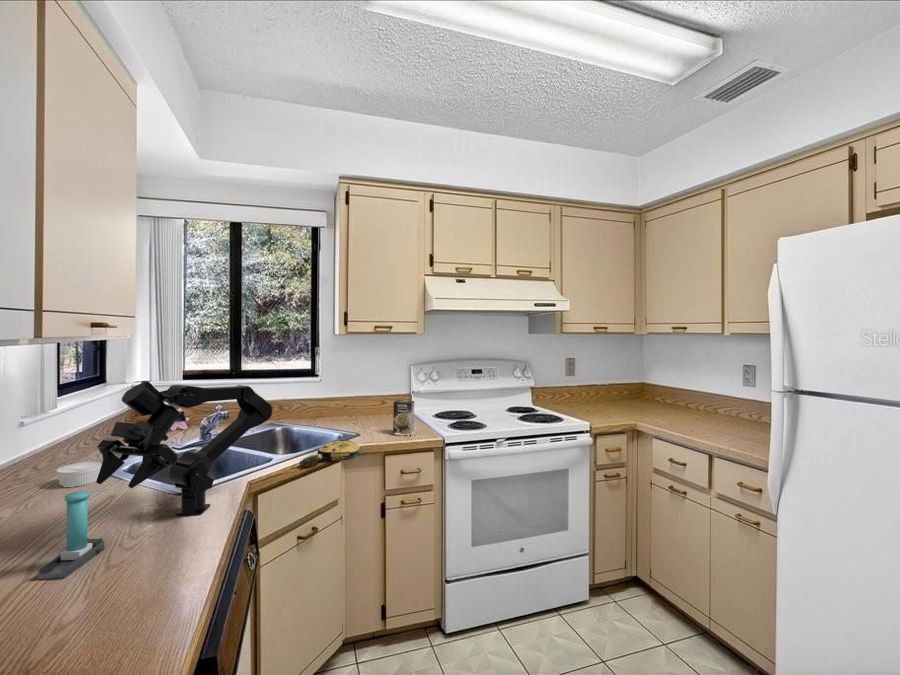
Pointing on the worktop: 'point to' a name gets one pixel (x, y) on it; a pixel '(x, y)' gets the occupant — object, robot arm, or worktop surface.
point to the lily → (179, 423)
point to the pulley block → (334, 452)
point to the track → (69, 562)
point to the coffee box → (403, 417)
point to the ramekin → (78, 473)
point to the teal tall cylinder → (76, 526)
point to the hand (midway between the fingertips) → (113, 485)
